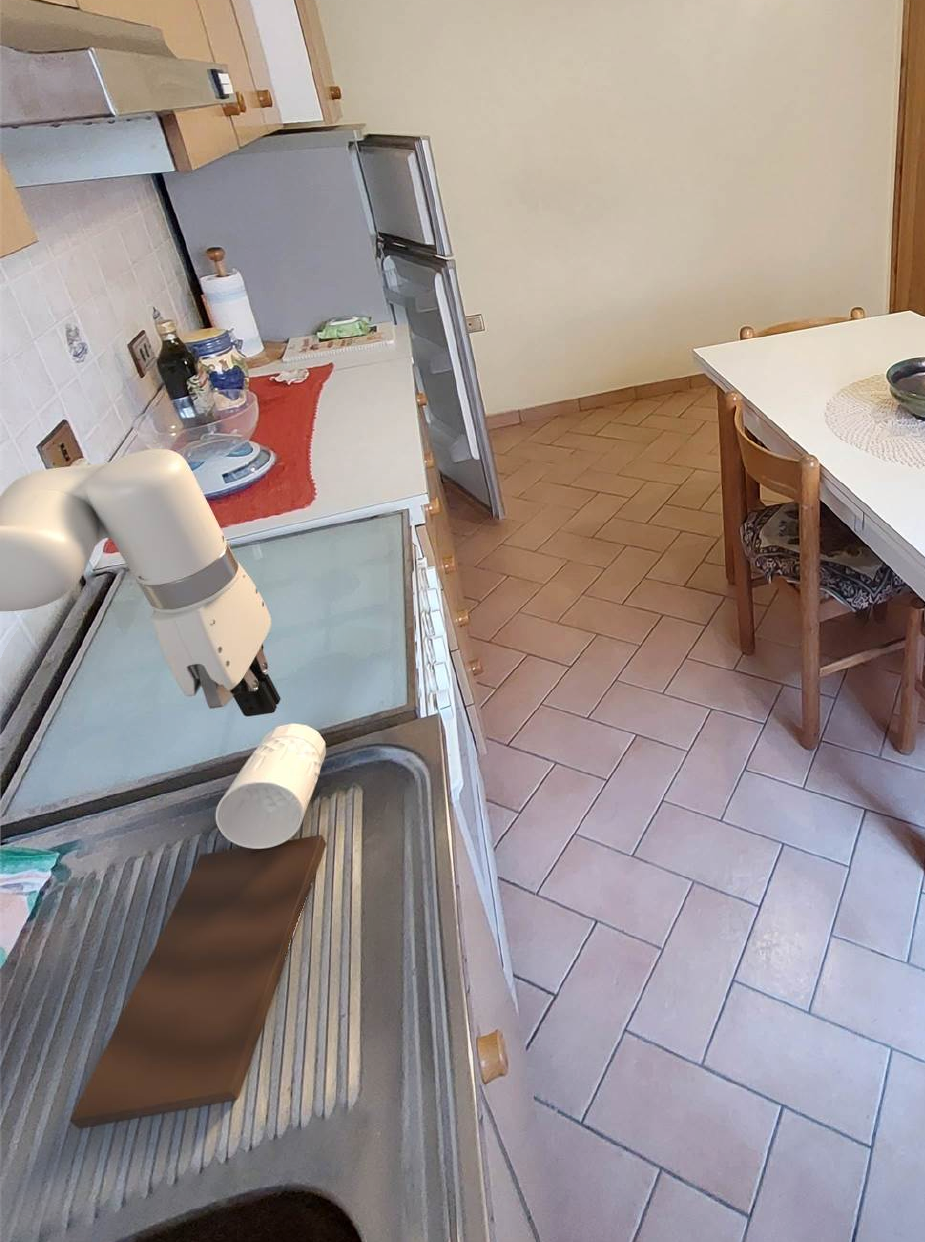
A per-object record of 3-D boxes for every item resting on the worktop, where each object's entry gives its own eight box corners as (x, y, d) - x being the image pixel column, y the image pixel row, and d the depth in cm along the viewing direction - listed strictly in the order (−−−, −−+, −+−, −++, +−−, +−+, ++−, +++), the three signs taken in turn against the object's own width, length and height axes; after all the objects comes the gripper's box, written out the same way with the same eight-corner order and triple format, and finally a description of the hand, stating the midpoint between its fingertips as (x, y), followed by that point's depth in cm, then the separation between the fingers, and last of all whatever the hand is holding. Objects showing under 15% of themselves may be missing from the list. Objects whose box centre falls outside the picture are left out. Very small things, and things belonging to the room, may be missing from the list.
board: (206, 863, 77) (200, 854, 76) (326, 843, 78) (321, 834, 77) (78, 1129, 59) (68, 1121, 58) (237, 1100, 59) (229, 1091, 59)
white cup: (248, 774, 84) (208, 844, 75) (262, 713, 83) (222, 777, 73) (324, 783, 86) (294, 853, 77) (338, 723, 85) (310, 787, 75)
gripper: (188, 532, 78) (256, 661, 87) (102, 637, 65) (192, 776, 74) (263, 522, 78) (323, 651, 87) (192, 624, 65) (271, 764, 74)
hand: (263, 708), depth 80 cm, fingers closed
